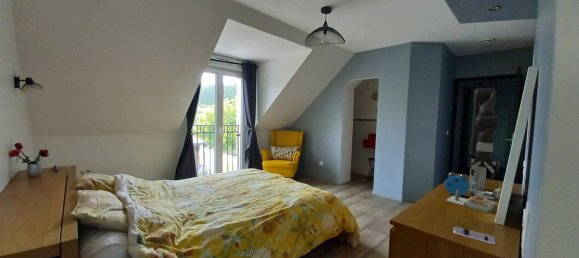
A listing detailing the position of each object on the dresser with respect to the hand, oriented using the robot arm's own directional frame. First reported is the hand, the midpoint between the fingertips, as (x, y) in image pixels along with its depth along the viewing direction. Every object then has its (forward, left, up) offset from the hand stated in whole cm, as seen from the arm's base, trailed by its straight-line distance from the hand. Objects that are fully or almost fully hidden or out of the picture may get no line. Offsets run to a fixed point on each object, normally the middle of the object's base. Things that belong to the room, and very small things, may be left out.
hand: (481, 177), depth 140 cm
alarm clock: (-13, -15, -18) cm, 27 cm away
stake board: (-1, -11, -18) cm, 21 cm away
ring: (+1, 0, -17) cm, 17 cm away
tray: (-1, 0, -18) cm, 18 cm away
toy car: (-25, -3, -19) cm, 31 cm away
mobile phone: (+43, +7, -19) cm, 48 cm away
